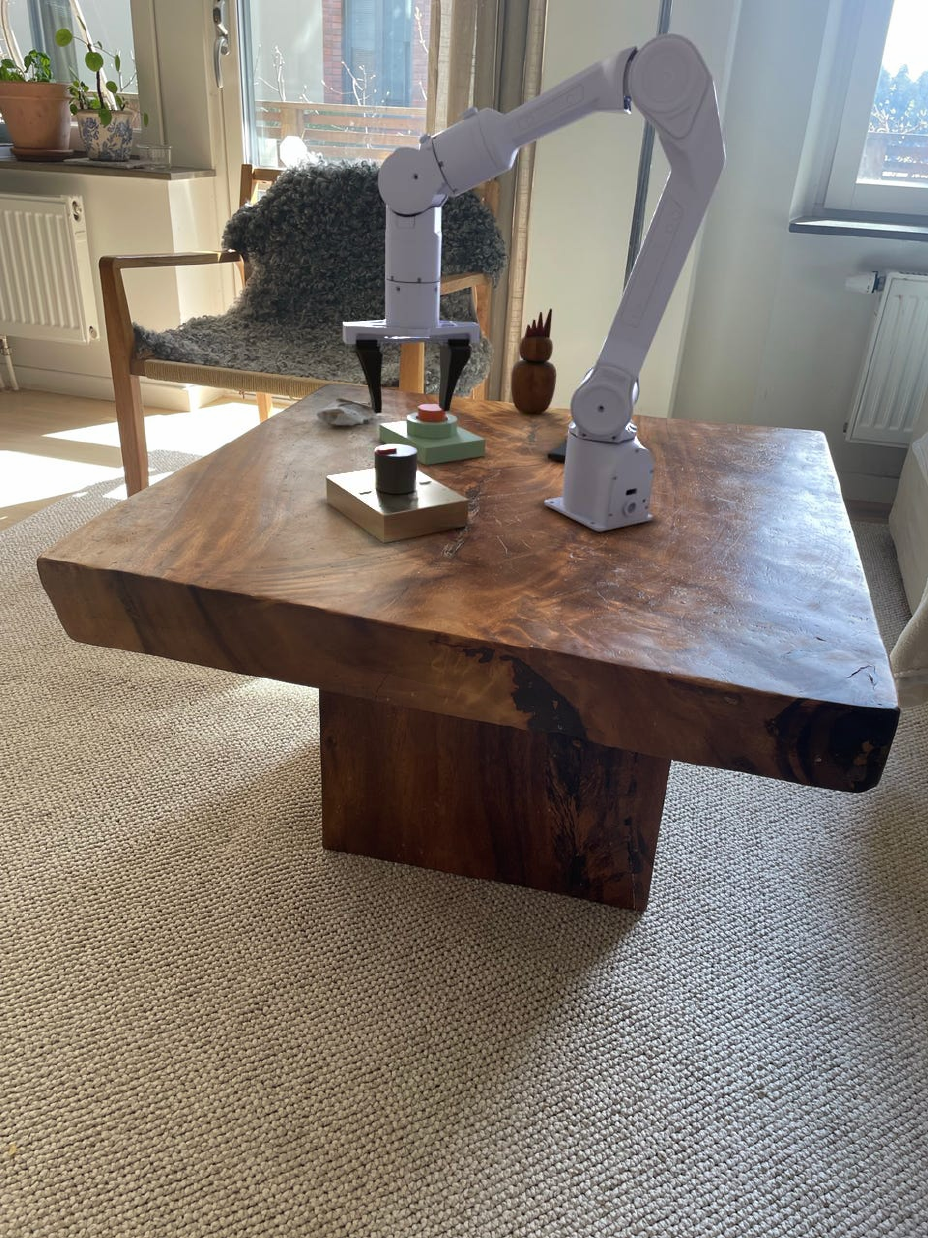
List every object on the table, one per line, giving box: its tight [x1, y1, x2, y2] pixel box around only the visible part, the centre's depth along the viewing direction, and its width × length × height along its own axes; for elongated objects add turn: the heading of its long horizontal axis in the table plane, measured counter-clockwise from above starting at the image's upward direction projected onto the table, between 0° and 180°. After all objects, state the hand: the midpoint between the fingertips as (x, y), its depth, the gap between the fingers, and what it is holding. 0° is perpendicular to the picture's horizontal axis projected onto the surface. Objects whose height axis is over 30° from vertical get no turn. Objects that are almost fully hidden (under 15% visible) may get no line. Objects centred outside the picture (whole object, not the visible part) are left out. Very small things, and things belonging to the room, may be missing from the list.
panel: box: [325, 468, 470, 544], centre depth 94 cm, size 13×10×3 cm
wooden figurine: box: [510, 308, 557, 414], centre depth 133 cm, size 7×6×15 cm
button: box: [417, 403, 447, 422], centre depth 115 cm, size 4×4×2 cm
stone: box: [316, 397, 379, 427], centre depth 126 cm, size 10×7×3 cm
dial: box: [374, 444, 418, 494], centre depth 93 cm, size 4×4×4 cm
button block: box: [379, 411, 487, 466], centre depth 116 cm, size 12×9×4 cm
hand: (410, 409), depth 98 cm, fingers open, 7 cm apart
